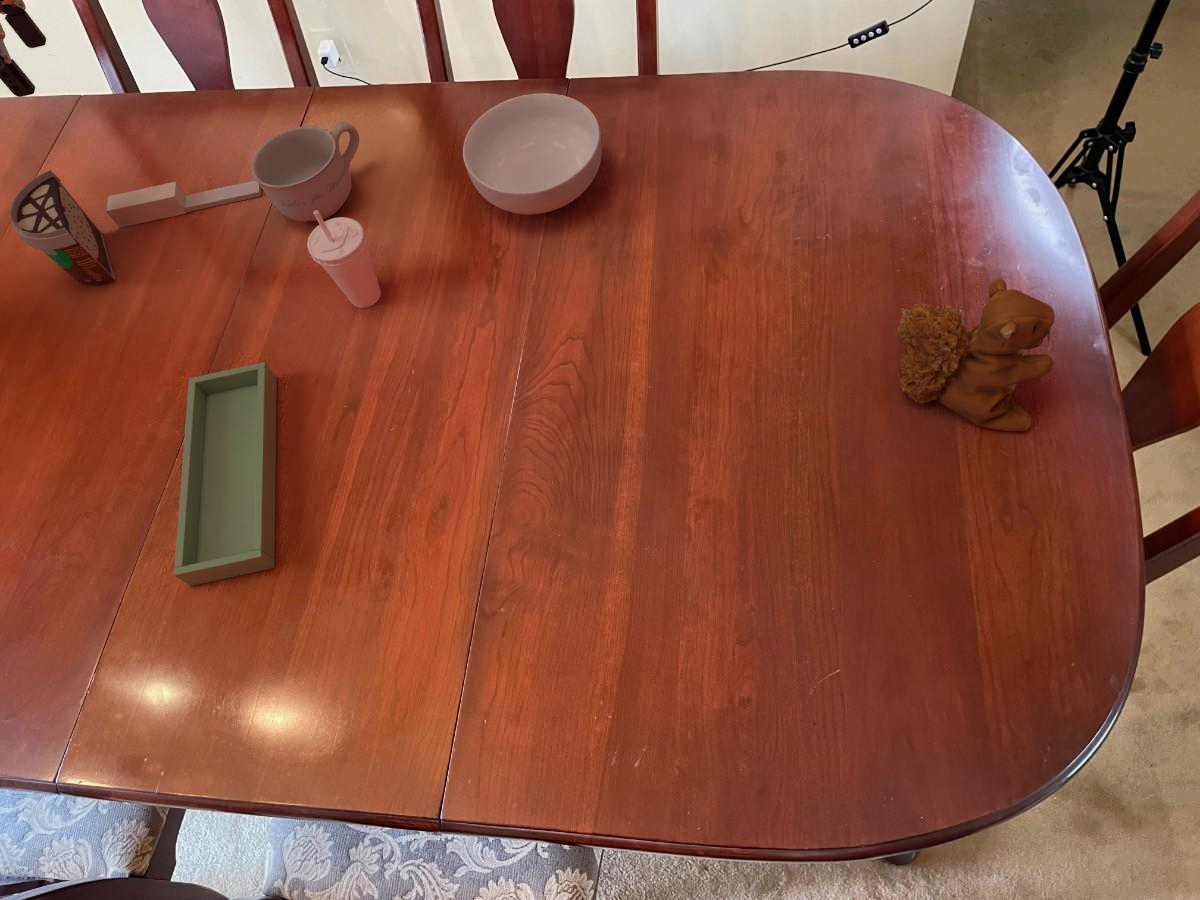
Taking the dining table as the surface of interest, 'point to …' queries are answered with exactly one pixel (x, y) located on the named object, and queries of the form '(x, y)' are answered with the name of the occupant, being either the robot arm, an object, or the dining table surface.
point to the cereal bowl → (533, 152)
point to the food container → (61, 230)
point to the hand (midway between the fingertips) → (33, 68)
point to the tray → (228, 476)
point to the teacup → (306, 170)
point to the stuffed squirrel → (976, 356)
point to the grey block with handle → (172, 201)
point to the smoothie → (345, 258)
